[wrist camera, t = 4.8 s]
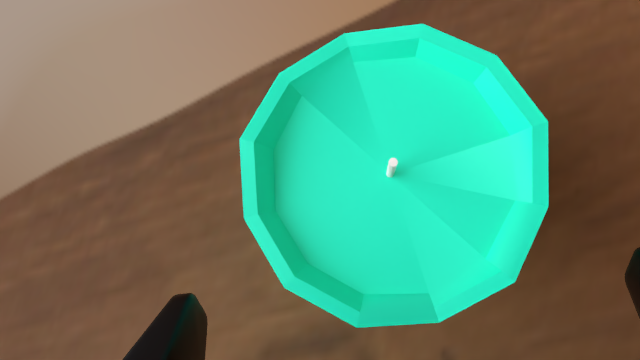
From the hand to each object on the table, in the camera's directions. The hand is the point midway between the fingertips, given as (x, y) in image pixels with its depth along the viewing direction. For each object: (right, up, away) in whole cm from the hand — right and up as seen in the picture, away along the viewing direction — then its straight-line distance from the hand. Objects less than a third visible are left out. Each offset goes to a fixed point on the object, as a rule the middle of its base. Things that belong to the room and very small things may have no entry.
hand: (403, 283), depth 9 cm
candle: (+1, +1, +10) cm, 10 cm away
